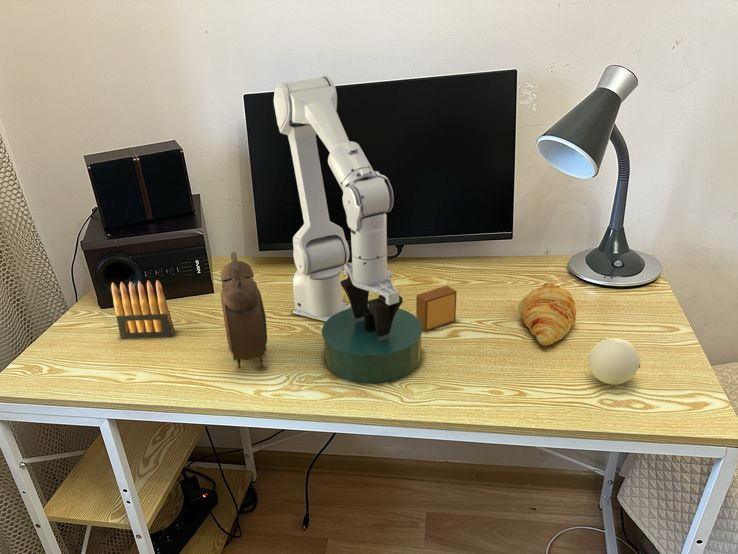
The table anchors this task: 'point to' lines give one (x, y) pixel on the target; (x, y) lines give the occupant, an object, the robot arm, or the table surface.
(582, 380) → the table surface
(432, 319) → the tall brown block
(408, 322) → the lid
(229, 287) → the alarm clock
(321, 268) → the robot arm
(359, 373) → the pot
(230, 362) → the table surface
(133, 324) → the ammunition clip
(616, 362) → the cream white ovoid
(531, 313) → the croissant
